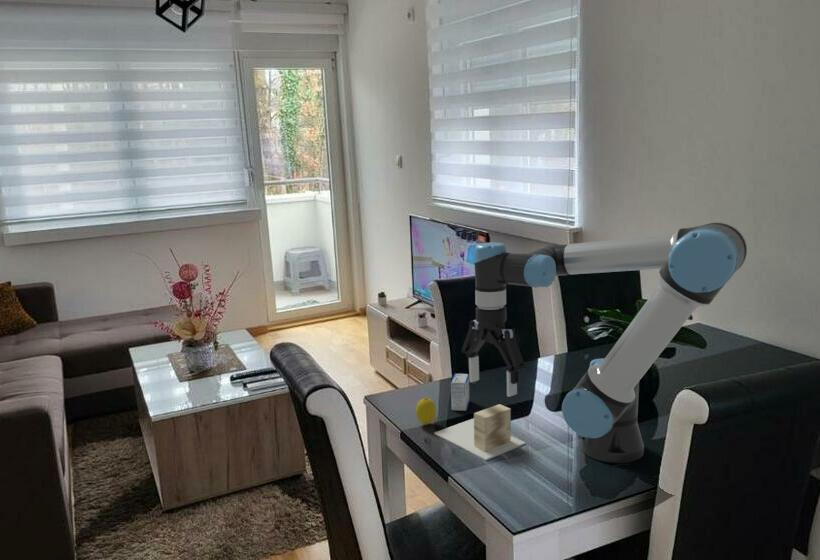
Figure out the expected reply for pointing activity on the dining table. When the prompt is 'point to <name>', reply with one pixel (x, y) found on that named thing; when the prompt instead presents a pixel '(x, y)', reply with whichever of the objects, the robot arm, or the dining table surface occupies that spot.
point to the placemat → (465, 439)
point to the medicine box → (460, 392)
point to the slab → (492, 427)
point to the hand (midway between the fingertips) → (492, 387)
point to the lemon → (426, 411)
